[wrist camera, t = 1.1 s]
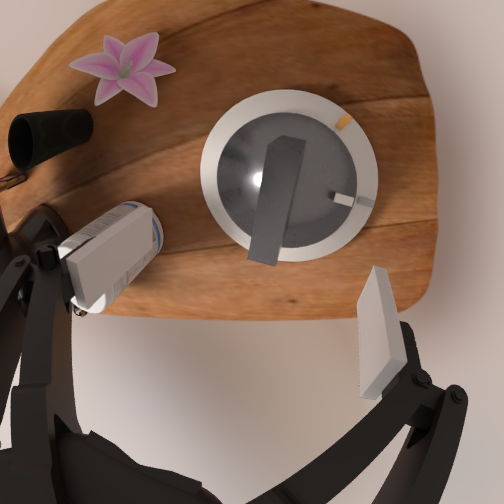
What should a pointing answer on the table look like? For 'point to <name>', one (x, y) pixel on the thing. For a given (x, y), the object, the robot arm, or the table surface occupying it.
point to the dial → (286, 183)
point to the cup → (46, 135)
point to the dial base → (314, 109)
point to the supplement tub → (96, 229)
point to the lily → (126, 68)
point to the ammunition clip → (12, 181)
